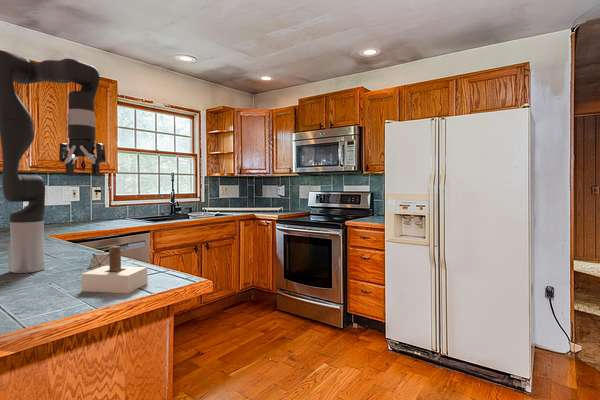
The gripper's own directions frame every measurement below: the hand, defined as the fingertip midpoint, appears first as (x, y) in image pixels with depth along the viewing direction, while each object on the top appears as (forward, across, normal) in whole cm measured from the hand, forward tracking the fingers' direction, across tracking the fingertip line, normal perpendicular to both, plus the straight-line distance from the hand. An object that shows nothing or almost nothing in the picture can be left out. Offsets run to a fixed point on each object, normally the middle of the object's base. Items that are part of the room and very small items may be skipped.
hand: (82, 175), depth 111 cm
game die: (+33, +5, +2) cm, 34 cm away
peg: (+33, +17, -9) cm, 38 cm away
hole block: (+33, +17, -9) cm, 38 cm away
